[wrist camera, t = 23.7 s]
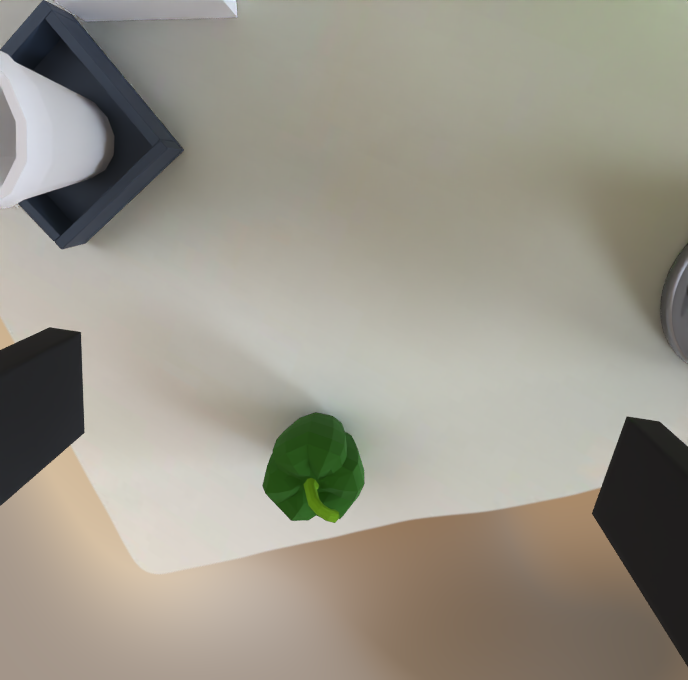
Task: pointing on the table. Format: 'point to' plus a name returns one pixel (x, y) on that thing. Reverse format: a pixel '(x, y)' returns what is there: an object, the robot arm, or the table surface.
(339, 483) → the bell pepper
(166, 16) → the milk
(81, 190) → the tray
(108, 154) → the foam cup
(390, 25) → the table surface
